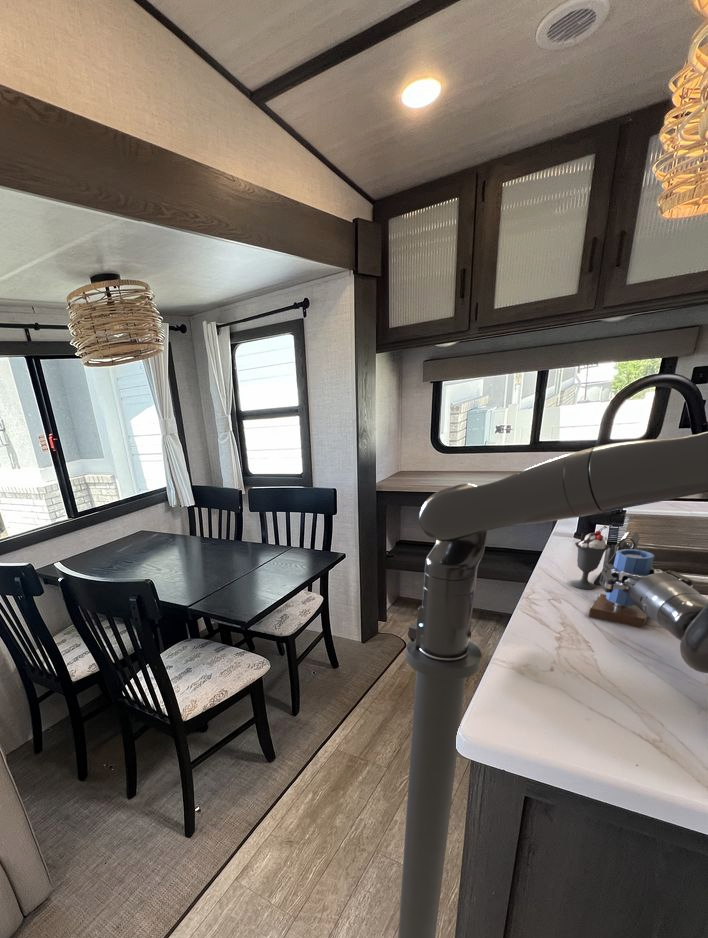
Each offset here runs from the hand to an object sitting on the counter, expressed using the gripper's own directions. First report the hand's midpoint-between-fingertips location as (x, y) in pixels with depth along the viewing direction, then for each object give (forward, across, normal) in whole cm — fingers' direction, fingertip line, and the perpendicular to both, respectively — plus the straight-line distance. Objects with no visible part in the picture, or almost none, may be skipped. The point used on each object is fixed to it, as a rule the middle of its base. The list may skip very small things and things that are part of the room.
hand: (624, 568), depth 96 cm
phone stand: (+15, -6, +9) cm, 19 cm away
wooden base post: (-2, 0, +9) cm, 10 cm away
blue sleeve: (-2, 0, +6) cm, 6 cm away
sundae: (+13, +1, +9) cm, 16 cm away
